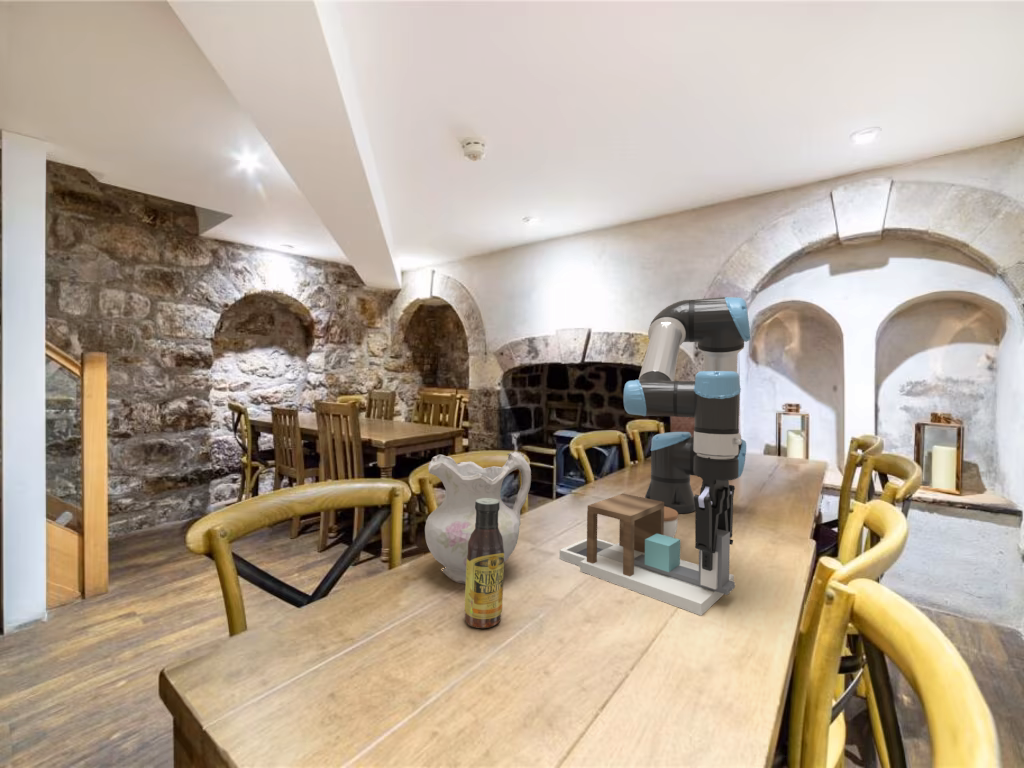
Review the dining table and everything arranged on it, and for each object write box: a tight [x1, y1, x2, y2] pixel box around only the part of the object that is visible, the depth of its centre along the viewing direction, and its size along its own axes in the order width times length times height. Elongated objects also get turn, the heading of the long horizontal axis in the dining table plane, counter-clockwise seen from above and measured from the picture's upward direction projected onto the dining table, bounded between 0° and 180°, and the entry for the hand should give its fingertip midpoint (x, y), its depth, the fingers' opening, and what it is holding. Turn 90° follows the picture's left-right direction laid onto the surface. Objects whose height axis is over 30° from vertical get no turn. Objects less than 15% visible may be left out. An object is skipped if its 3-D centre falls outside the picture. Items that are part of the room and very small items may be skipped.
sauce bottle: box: [464, 498, 505, 629], centre depth 75 cm, size 6×6×20 cm
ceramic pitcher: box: [424, 450, 532, 585], centre depth 94 cm, size 22×20×25 cm
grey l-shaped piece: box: [634, 529, 736, 596], centre depth 88 cm, size 4×18×10 cm, turn 46°
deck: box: [559, 537, 735, 616], centre depth 94 cm, size 16×32×2 cm, turn 46°
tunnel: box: [586, 493, 664, 577], centre depth 96 cm, size 14×10×12 cm
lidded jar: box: [664, 506, 679, 538], centre depth 112 cm, size 11×11×9 cm
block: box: [645, 534, 681, 572], centre depth 90 cm, size 5×5×5 cm
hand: (713, 581), depth 83 cm, fingers closed on grey l-shaped piece, 4 cm apart
